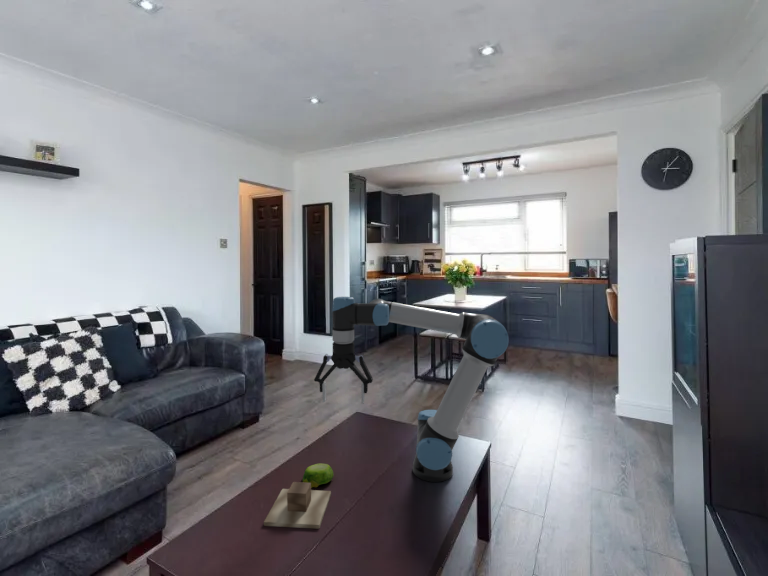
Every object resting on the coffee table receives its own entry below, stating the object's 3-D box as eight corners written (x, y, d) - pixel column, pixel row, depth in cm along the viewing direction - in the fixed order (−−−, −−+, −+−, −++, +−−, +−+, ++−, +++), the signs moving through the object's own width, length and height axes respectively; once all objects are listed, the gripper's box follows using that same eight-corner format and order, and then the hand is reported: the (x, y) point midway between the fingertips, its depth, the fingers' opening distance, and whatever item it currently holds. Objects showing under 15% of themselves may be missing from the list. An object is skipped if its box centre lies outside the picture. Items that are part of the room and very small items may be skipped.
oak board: (331, 494, 133) (331, 491, 133) (319, 528, 116) (319, 524, 116) (282, 492, 134) (282, 488, 134) (263, 525, 117) (263, 521, 117)
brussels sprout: (327, 490, 136) (327, 476, 135) (298, 487, 138) (298, 473, 137) (337, 473, 147) (337, 460, 147) (310, 470, 149) (310, 457, 149)
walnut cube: (311, 500, 128) (311, 482, 127) (306, 512, 122) (305, 493, 122) (293, 499, 128) (293, 481, 128) (287, 511, 122) (287, 492, 122)
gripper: (380, 340, 137) (380, 398, 139) (310, 338, 139) (311, 396, 141) (378, 344, 130) (378, 406, 131) (305, 343, 132) (305, 404, 133)
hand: (343, 401), depth 136 cm, fingers open, 13 cm apart
